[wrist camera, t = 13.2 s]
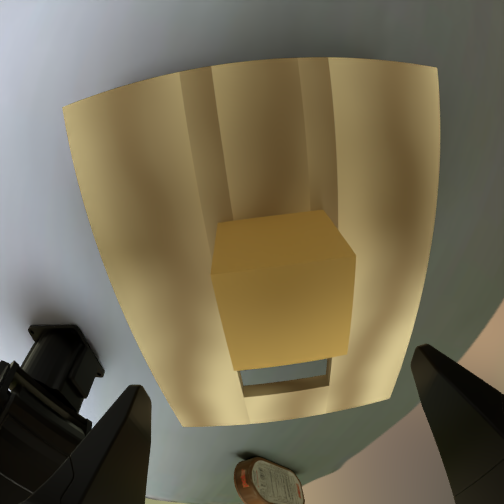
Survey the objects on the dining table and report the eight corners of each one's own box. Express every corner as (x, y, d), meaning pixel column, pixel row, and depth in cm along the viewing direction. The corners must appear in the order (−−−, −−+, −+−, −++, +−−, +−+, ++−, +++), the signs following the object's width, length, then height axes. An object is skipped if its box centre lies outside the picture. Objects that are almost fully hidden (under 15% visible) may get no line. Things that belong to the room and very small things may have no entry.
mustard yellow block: (234, 269, 18) (233, 370, 11) (221, 197, 16) (210, 274, 9) (309, 260, 18) (347, 354, 11) (306, 186, 15) (356, 255, 9)
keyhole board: (189, 370, 25) (182, 426, 20) (113, 102, 15) (62, 107, 10) (367, 346, 25) (389, 398, 20) (380, 73, 15) (437, 68, 9)
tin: (231, 453, 34) (232, 507, 27) (250, 448, 34) (253, 503, 26) (287, 476, 40) (292, 518, 33) (303, 471, 40) (310, 514, 32)
